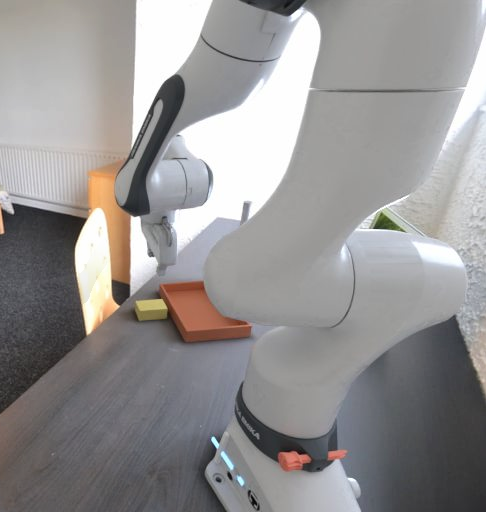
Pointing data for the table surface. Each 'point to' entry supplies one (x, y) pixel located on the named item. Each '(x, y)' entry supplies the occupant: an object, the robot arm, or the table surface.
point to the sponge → (151, 309)
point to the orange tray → (199, 313)
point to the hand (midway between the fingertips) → (155, 264)
